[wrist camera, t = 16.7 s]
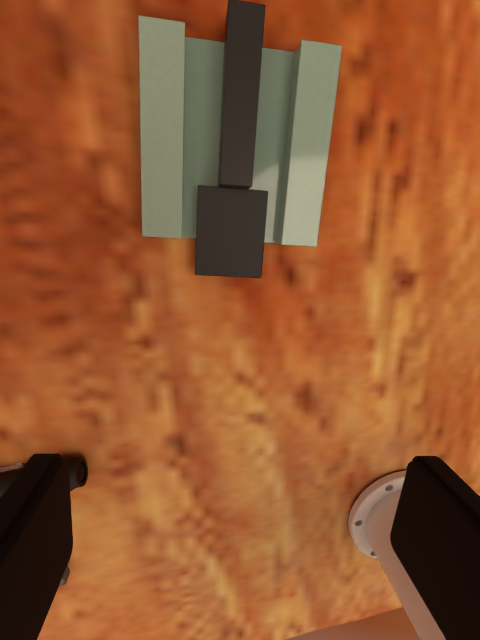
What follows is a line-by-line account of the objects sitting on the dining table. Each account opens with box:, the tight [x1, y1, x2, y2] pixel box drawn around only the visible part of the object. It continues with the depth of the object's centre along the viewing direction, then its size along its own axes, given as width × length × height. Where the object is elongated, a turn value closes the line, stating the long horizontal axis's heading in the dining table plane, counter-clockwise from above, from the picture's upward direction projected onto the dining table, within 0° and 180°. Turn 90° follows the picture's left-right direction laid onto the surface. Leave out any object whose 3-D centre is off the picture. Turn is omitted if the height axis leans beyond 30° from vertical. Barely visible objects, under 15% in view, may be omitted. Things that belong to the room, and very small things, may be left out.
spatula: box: [195, 0, 268, 278], centre depth 25 cm, size 18×6×3 cm, turn 176°
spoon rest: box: [139, 16, 342, 247], centre depth 25 cm, size 14×14×2 cm
